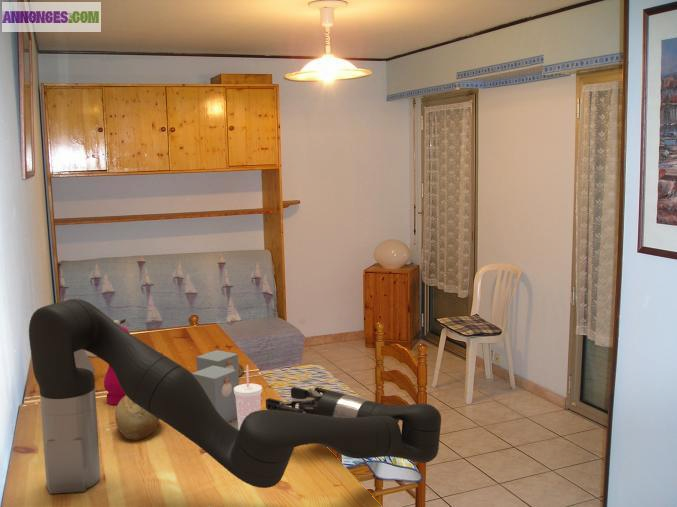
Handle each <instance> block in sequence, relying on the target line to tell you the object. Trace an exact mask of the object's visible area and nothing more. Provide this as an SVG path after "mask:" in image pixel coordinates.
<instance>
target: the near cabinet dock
mask: <svg viewBox="0 0 677 507" xmlns="http://www.w3.org/2000/svg"><path fill="white" fill-rule="evenodd" d="M191 373H192V374H193V375H194V376H195V378H196V379H197V380H198V382H199V383H200V384H201V386H202V387H203V389H204V391H205V392H206V394H207V396H208V397H209V399H210V401H211V402H212V404H213V406H214V407H215V409H216V410H217V412H218V413H219V414H220V415H221V417H222V418H223V419H224V420H225V421H227V422H228V423H229V424H230V425H231V426H233V427H234V428H236V429H237V430H238V431H239V429H238V418H237V408H236V397H235V394H234V387H236V386H237V374H236V370H233V369H228V368H223V367H218V366H214V365H213V366H210V367H208V368H205V369H202V370H199V371H197V370H196V371H194V372H191Z"/></svg>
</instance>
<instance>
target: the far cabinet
mask: <svg viewBox="0 0 677 507" xmlns="http://www.w3.org/2000/svg"><path fill="white" fill-rule="evenodd" d="M238 361H239V354H238V353H233V352H231V351H230V352H229V351H224V350H219V349H216V350H213V351H210V352H207V353H204V354H201V355H198V356H196V372H197V371H199V370H202V369H205V368H208V367H210V366H213V365H214V366H218V367H223V368H228V369H233V370H236V374H237V386H238V385H240V376H239V366H238Z"/></svg>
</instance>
